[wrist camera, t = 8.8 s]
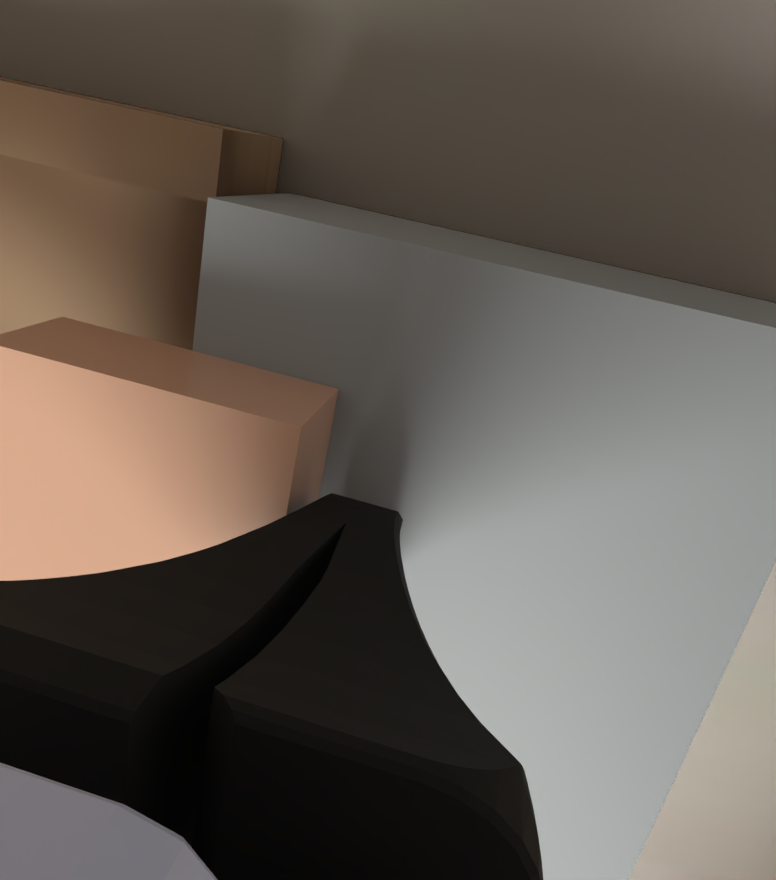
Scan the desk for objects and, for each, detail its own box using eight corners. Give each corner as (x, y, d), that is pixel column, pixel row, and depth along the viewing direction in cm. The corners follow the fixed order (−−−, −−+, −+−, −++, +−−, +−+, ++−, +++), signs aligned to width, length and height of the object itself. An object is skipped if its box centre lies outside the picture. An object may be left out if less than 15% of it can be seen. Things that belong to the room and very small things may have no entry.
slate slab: (551, 879, 20) (553, 1040, 16) (208, 768, 21) (137, 894, 17) (784, 305, 14) (872, 350, 10) (290, 193, 15) (208, 197, 11)
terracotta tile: (292, 635, 14) (254, 705, 12) (53, 562, 14) (-19, 618, 12) (339, 388, 12) (300, 427, 10) (62, 316, 12) (-21, 340, 11)
